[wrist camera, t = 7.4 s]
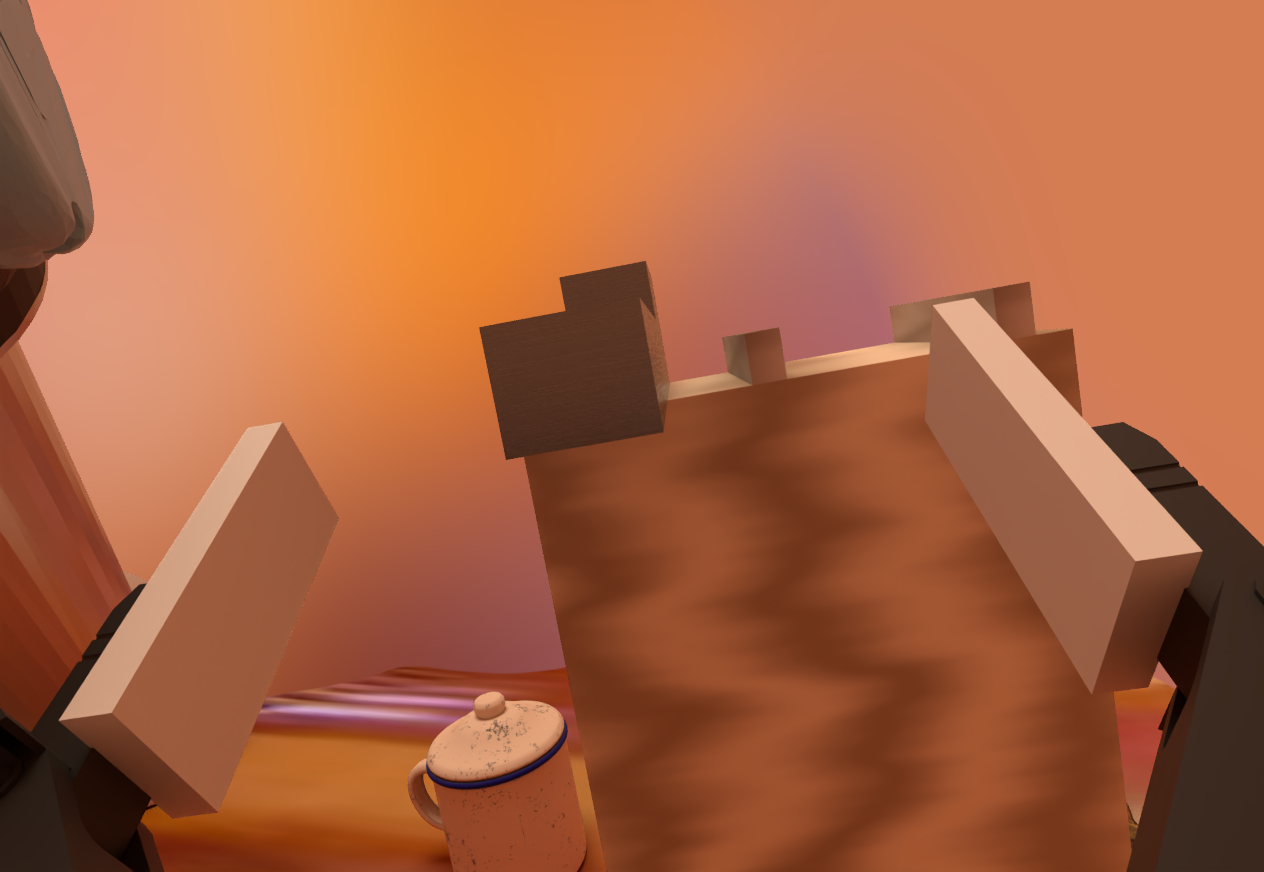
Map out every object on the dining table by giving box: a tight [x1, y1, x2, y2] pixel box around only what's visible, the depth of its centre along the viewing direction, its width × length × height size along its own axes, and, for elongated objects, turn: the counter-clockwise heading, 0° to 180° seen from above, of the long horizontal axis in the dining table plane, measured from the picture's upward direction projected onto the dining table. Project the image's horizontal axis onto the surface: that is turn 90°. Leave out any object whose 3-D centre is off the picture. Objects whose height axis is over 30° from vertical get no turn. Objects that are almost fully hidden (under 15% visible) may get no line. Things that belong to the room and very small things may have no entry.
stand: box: [524, 282, 1132, 872], centre depth 28 cm, size 16×10×32 cm, turn 87°
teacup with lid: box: [408, 692, 586, 872], centre depth 48 cm, size 12×9×12 cm
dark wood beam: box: [480, 261, 670, 460], centre depth 22 cm, size 3×18×4 cm, turn 177°
